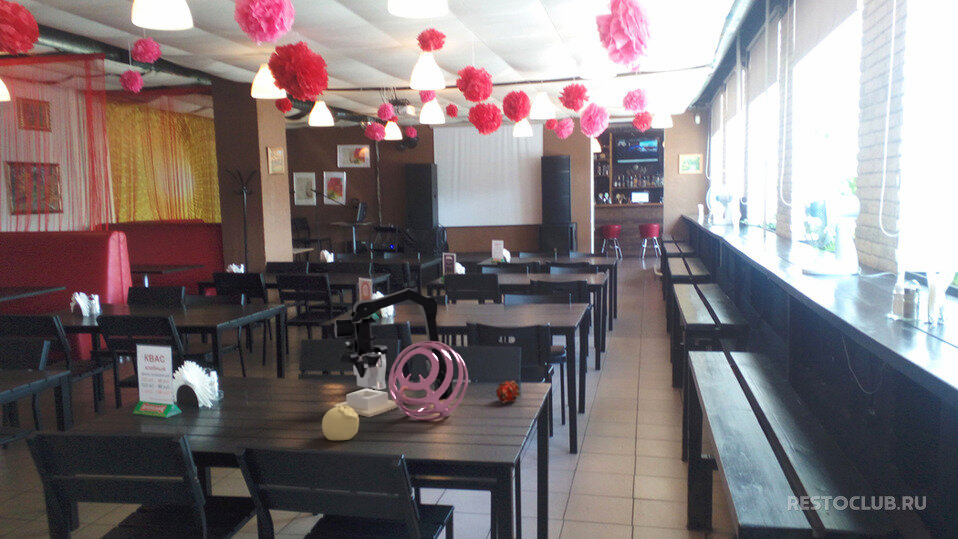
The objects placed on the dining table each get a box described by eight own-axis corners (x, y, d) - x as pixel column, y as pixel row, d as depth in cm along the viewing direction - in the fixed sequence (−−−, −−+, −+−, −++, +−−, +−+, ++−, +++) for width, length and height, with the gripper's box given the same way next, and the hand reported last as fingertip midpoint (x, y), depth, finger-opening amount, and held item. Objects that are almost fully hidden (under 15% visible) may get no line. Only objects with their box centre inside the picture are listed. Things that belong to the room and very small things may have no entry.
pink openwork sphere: (424, 348, 268) (399, 319, 245) (488, 370, 257) (468, 342, 234) (392, 415, 258) (363, 391, 235) (458, 441, 247) (433, 419, 224)
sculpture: (363, 440, 224) (361, 408, 223) (325, 446, 220) (323, 413, 219) (357, 430, 235) (355, 398, 234) (321, 435, 231) (318, 403, 230)
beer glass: (385, 389, 284) (383, 353, 283) (368, 390, 284) (366, 354, 283) (388, 385, 291) (386, 350, 290) (371, 386, 291) (369, 350, 290)
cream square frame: (401, 405, 261) (401, 392, 260) (369, 417, 248) (368, 402, 248) (366, 398, 273) (365, 385, 273) (333, 408, 261) (332, 394, 261)
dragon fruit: (517, 401, 266) (504, 414, 256) (499, 387, 268) (486, 400, 257) (527, 385, 262) (515, 398, 252) (509, 371, 264) (497, 384, 254)
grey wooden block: (378, 386, 259) (377, 366, 258) (370, 388, 256) (369, 368, 255) (362, 382, 265) (361, 363, 264) (354, 385, 262) (353, 365, 261)
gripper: (368, 329, 271) (370, 368, 272) (329, 337, 256) (332, 379, 258) (387, 331, 263) (390, 372, 265) (349, 340, 249) (352, 383, 251)
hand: (366, 376), depth 260 cm, fingers closed on grey wooden block, 4 cm apart
